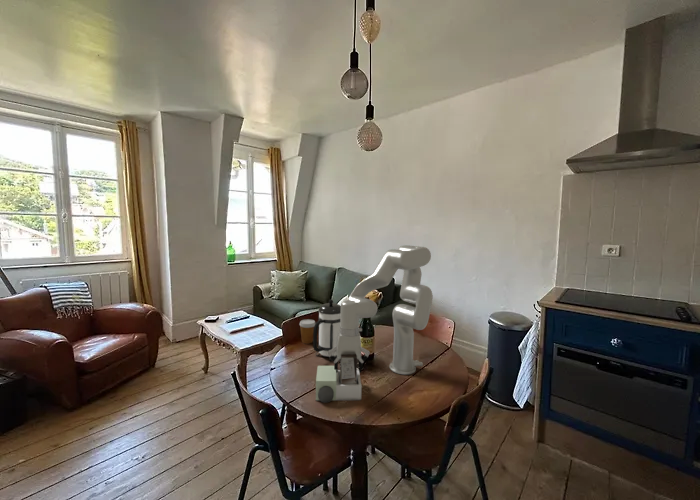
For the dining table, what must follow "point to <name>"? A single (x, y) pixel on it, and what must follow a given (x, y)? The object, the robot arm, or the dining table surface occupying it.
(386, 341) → the dining table surface
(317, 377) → the pale green boxy shape
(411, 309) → the robot arm
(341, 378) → the coffee box
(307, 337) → the disposable coffee cup
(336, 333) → the coffee press
